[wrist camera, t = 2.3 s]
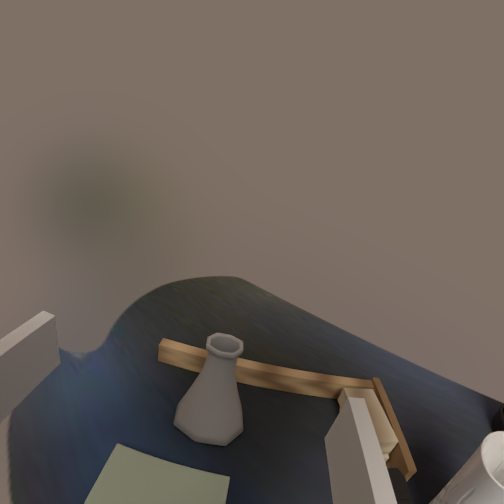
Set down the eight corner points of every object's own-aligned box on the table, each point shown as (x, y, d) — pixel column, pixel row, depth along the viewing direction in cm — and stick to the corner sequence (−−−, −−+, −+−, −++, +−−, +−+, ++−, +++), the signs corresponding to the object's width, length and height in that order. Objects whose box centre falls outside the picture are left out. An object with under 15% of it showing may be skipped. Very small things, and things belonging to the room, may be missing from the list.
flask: (191, 388, 31) (203, 313, 28) (252, 411, 29) (275, 337, 27) (160, 427, 24) (165, 347, 21) (231, 457, 22) (255, 381, 20)
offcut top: (366, 401, 32) (372, 389, 31) (389, 453, 23) (398, 441, 22) (337, 400, 31) (343, 387, 31) (356, 456, 23) (365, 443, 22)
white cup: (437, 567, 9) (521, 509, 6) (399, 515, 16) (466, 450, 13) (482, 526, 11) (550, 463, 9) (447, 486, 18) (504, 420, 16)
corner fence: (370, 394, 35) (379, 377, 34) (401, 487, 19) (417, 470, 19) (162, 353, 35) (163, 334, 35) (108, 442, 20) (104, 422, 19)
